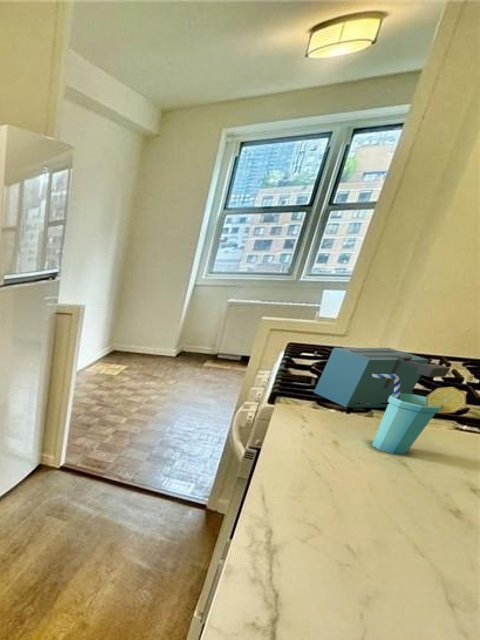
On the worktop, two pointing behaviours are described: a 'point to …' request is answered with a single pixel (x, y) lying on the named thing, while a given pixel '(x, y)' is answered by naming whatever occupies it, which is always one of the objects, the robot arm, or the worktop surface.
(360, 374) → the toaster
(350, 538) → the worktop surface
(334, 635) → the worktop surface
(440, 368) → the toaster lever
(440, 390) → the cup
